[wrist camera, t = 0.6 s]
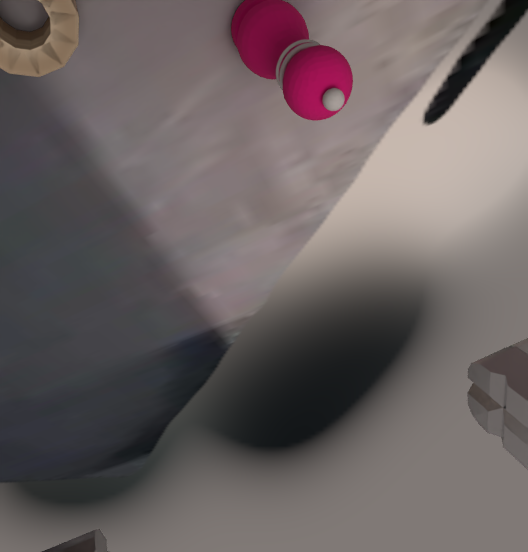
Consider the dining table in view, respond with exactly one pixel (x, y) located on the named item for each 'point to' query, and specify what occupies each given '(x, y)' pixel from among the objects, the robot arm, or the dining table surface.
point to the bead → (41, 41)
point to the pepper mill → (291, 58)
